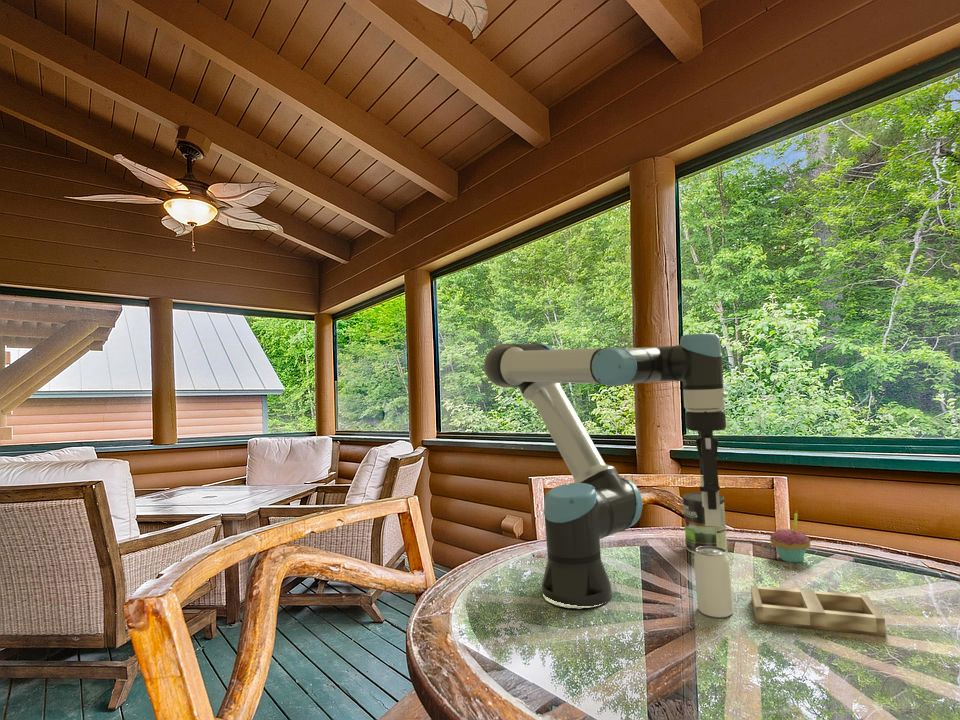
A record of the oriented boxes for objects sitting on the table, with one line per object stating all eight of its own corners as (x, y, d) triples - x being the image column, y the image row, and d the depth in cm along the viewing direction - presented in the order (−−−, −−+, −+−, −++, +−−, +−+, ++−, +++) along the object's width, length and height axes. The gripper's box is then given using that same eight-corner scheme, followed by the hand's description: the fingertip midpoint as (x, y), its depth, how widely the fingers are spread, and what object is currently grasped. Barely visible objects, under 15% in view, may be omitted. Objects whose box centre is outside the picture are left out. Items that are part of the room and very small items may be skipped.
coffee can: (698, 558, 133) (694, 502, 133) (679, 545, 143) (675, 494, 143) (736, 554, 134) (732, 499, 134) (714, 542, 144) (710, 490, 144)
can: (737, 619, 100) (732, 556, 100) (701, 618, 101) (696, 555, 102) (728, 604, 106) (723, 545, 107) (694, 603, 108) (690, 545, 108)
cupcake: (812, 555, 130) (807, 507, 130) (812, 567, 122) (807, 515, 123) (772, 551, 134) (768, 504, 135) (770, 562, 127) (766, 512, 127)
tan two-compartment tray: (756, 622, 98) (755, 606, 98) (751, 600, 108) (750, 585, 108) (886, 636, 91) (884, 618, 91) (868, 611, 100) (867, 595, 100)
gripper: (730, 415, 93) (738, 536, 92) (720, 404, 116) (726, 500, 115) (685, 416, 95) (692, 533, 95) (684, 405, 119) (689, 499, 118)
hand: (711, 515), depth 105 cm, fingers open, 13 cm apart
